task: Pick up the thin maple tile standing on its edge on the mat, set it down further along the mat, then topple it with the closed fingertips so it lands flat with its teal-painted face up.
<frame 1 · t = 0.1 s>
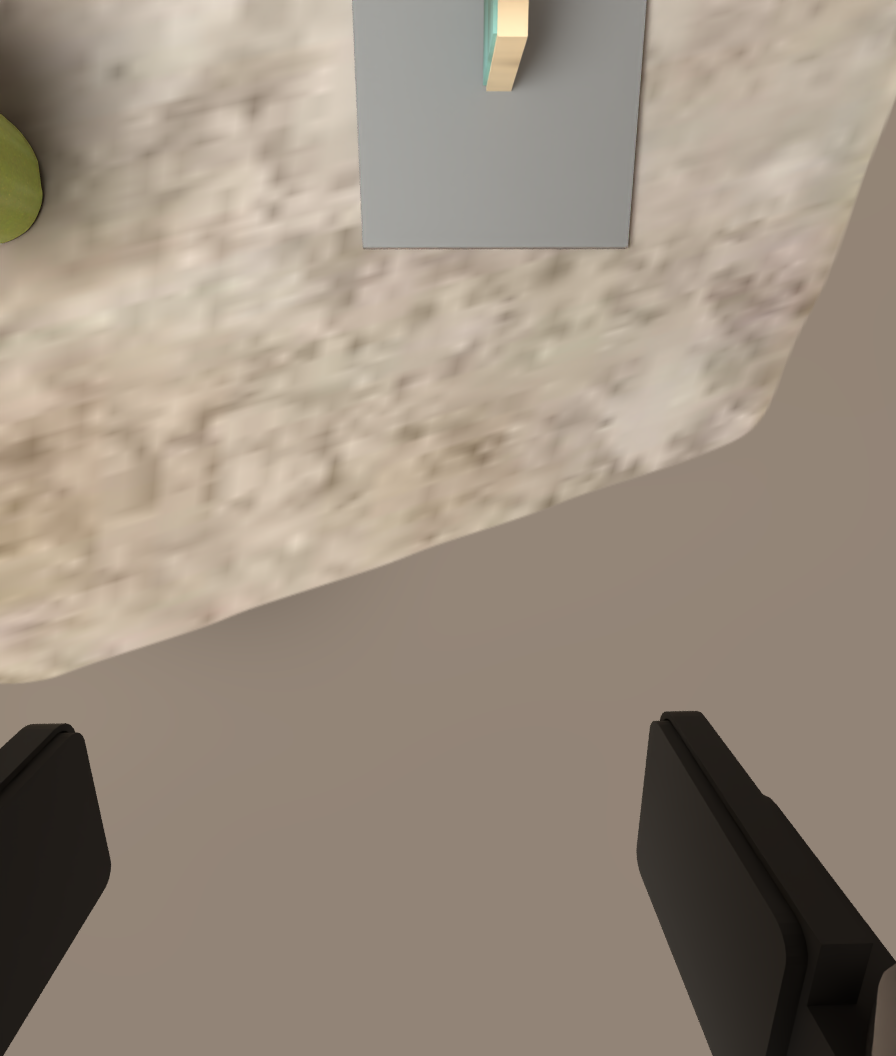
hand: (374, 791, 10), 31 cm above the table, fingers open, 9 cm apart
tile: (499, 26, 32), point 1 cm above the table, touching mat
mat: (497, 115, 34), on the table
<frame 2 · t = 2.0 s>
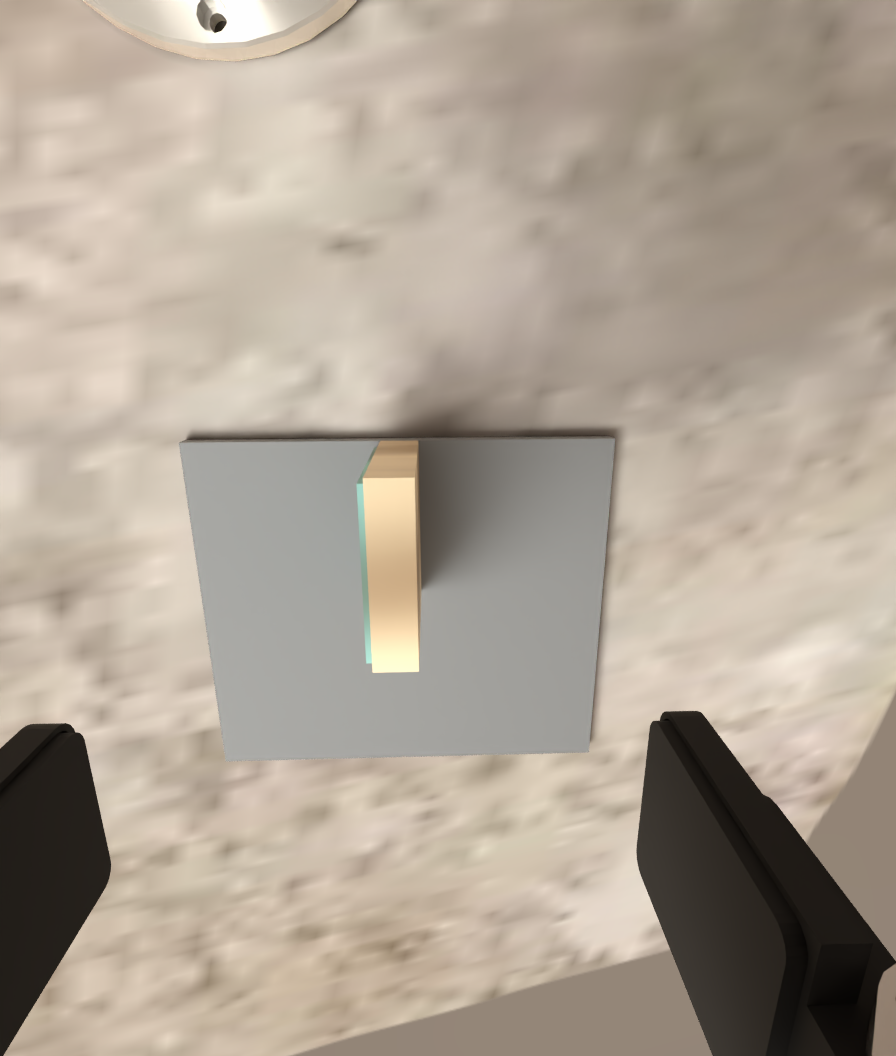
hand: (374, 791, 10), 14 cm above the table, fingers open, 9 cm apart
tile: (401, 518, 22), point 1 cm above the table, touching mat
mat: (405, 606, 24), on the table
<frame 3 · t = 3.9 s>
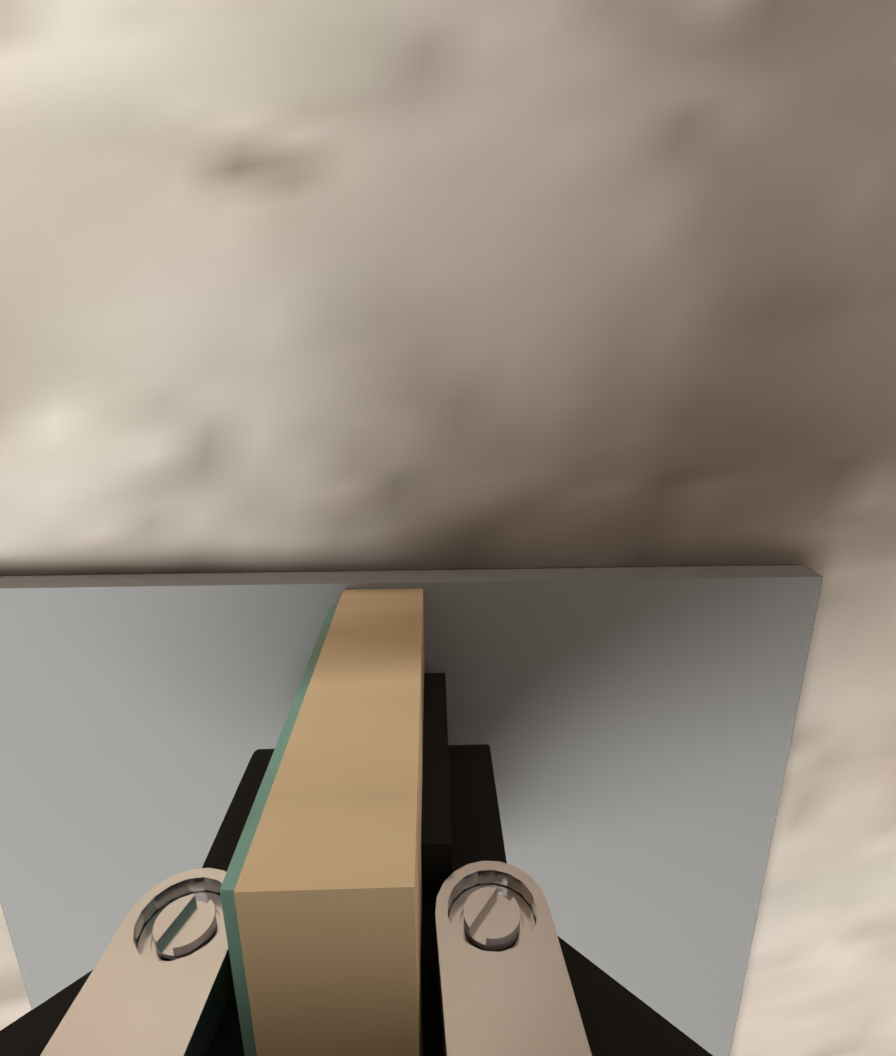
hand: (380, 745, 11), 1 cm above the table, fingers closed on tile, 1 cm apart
tile: (389, 734, 11), point 1 cm above the table, touching gripper
mat: (389, 868, 13), on the table
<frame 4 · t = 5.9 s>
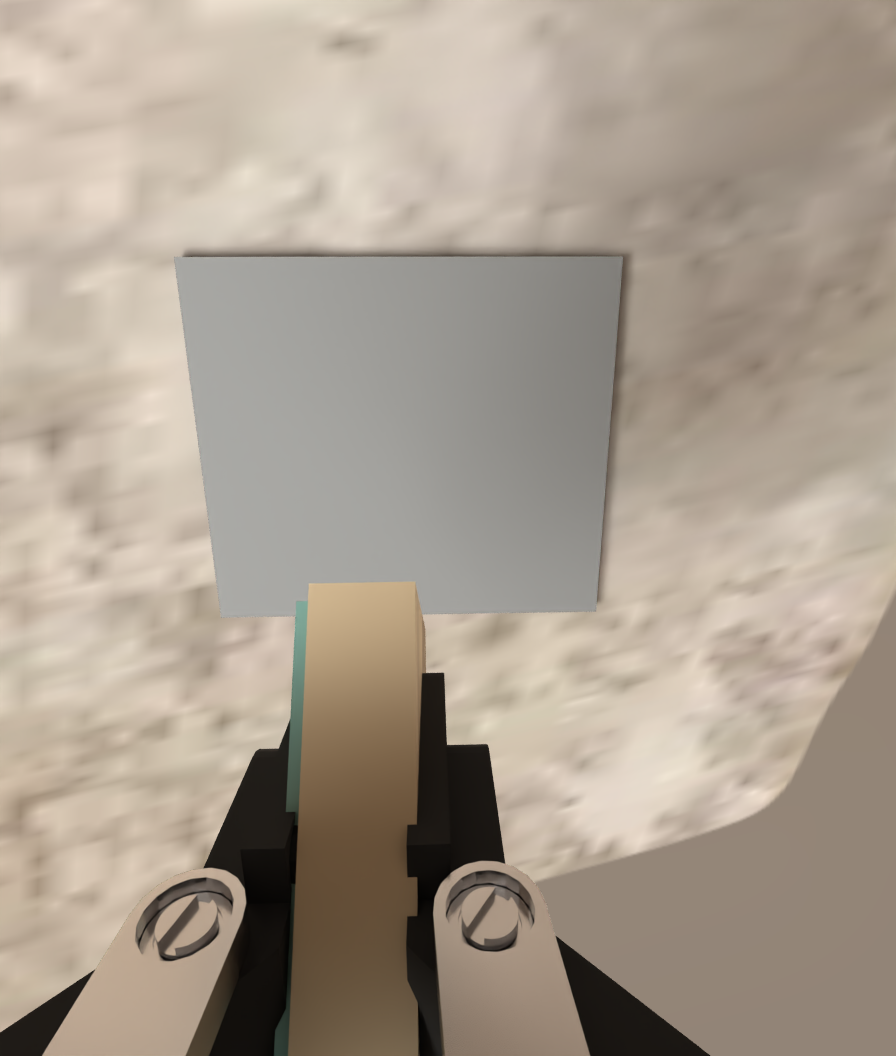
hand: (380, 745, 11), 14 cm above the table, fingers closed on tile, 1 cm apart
tile: (394, 770, 13), point 13 cm above the table, tilted 33°, touching gripper
mat: (406, 449, 24), on the table
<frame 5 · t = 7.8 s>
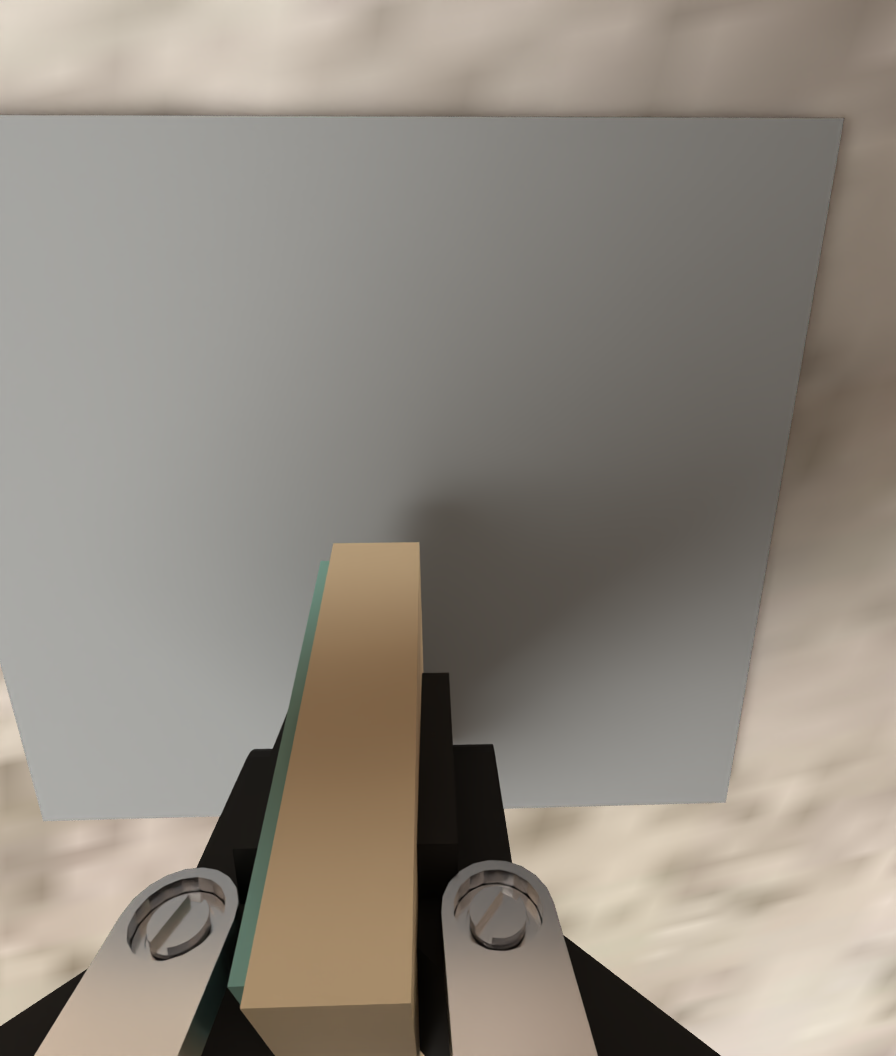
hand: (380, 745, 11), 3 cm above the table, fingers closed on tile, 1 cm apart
tile: (387, 895, 11), point 3 cm above the table, tilted 70°, touching gripper, mat
mat: (379, 519, 12), on the table
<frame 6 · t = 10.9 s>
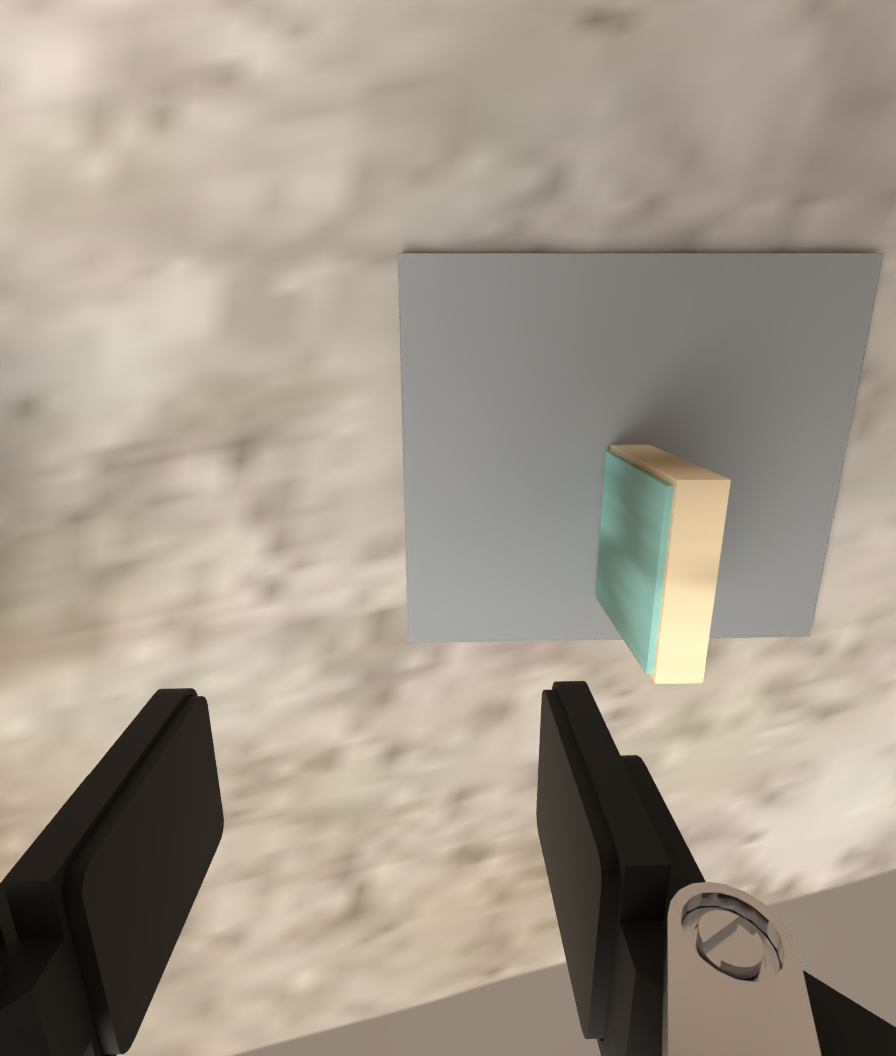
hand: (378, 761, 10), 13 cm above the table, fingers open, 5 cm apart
tile: (643, 635, 20), point 4 cm above the table, tilted 90°, touching mat
mat: (620, 461, 22), on the table
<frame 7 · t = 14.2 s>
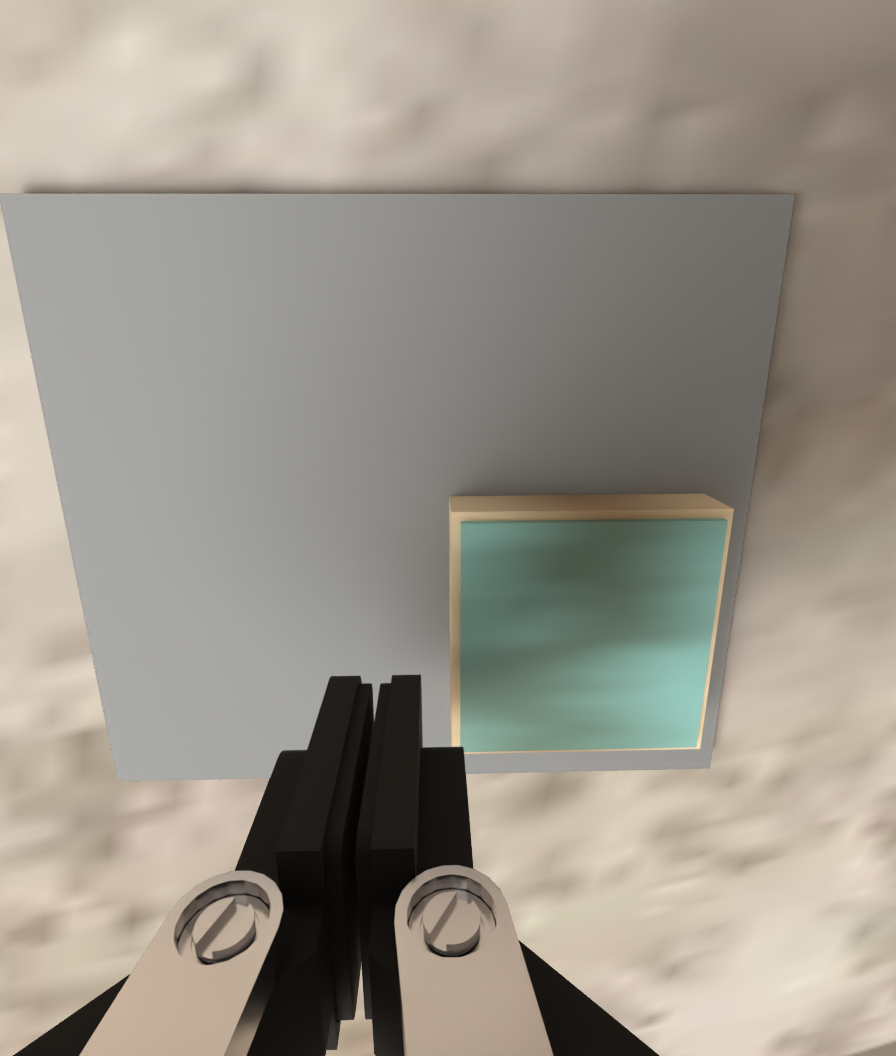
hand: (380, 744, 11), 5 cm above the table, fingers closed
tile: (570, 733, 15), point 1 cm above the table, tilted 90°, touching mat
mat: (412, 519, 14), on the table
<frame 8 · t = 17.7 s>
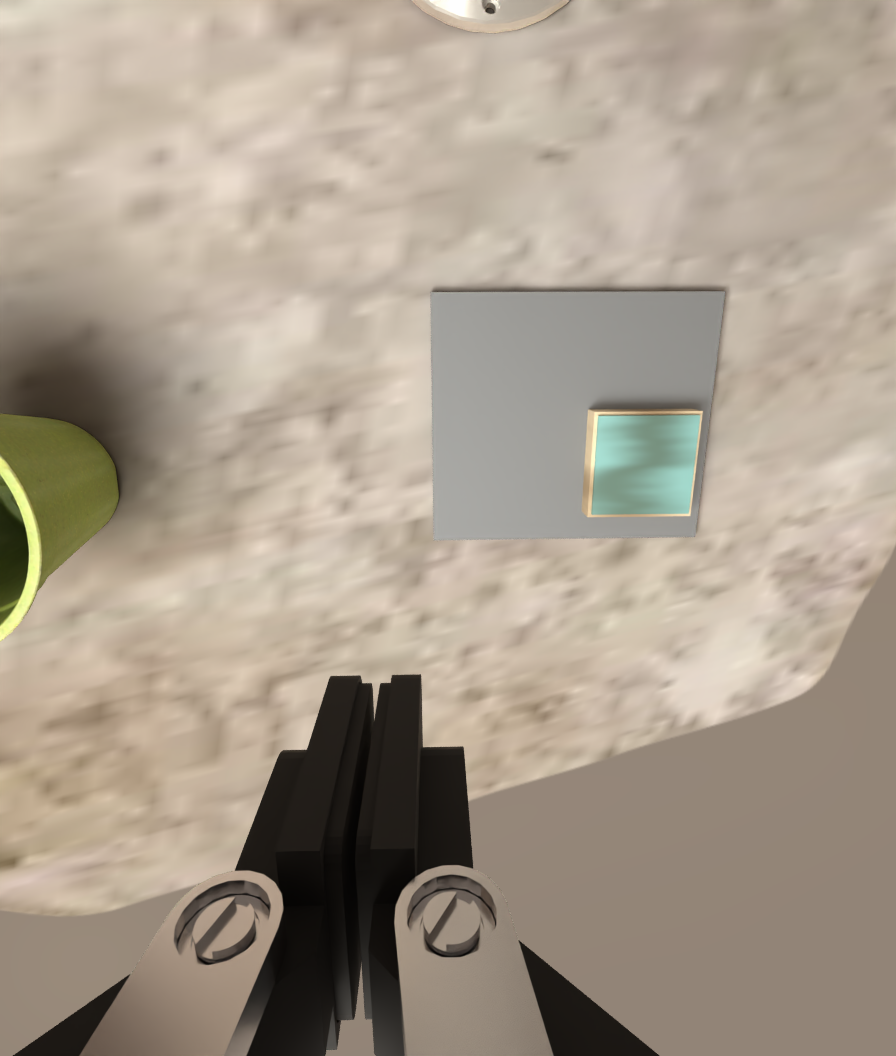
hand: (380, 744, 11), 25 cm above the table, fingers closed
tile: (634, 513, 35), point 1 cm above the table, tilted 90°, touching mat
plant pot: (60, 476, 35), on the table
mat: (569, 421, 34), on the table
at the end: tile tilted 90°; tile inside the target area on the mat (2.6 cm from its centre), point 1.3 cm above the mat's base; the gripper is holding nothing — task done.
